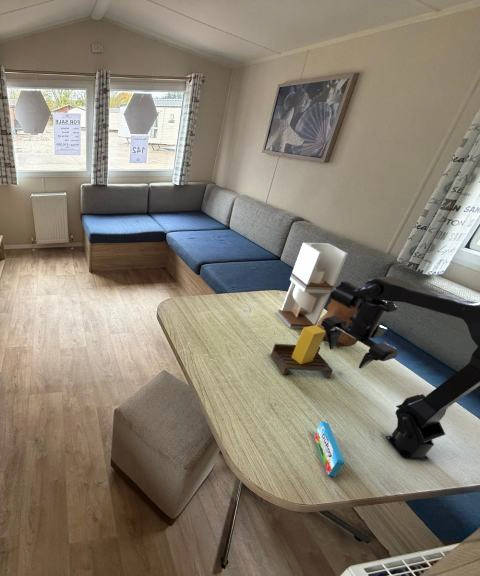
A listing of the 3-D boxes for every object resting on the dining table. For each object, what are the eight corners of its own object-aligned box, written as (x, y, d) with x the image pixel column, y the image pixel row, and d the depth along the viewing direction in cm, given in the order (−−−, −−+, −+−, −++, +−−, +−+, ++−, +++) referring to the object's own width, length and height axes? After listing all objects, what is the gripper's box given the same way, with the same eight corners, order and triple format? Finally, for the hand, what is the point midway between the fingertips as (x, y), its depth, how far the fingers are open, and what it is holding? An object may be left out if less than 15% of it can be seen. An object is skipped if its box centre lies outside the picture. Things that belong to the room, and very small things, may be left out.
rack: (329, 378, 107) (336, 365, 104) (282, 374, 108) (287, 361, 105) (313, 358, 116) (319, 346, 113) (270, 356, 117) (274, 343, 114)
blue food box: (334, 477, 76) (344, 462, 74) (328, 475, 77) (337, 460, 74) (319, 436, 87) (327, 421, 84) (313, 435, 87) (321, 420, 84)
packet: (312, 361, 109) (326, 331, 103) (300, 364, 108) (314, 334, 102) (302, 354, 113) (315, 325, 107) (291, 357, 111) (303, 327, 105)
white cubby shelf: (277, 313, 144) (303, 242, 127) (300, 314, 144) (329, 243, 127) (289, 327, 134) (319, 252, 117) (314, 328, 133) (347, 253, 117)
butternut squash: (347, 338, 128) (375, 285, 116) (356, 357, 117) (387, 301, 105) (309, 329, 133) (331, 277, 121) (314, 347, 122) (339, 292, 110)
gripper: (423, 330, 84) (395, 373, 91) (353, 297, 100) (334, 336, 107) (396, 337, 81) (369, 381, 88) (329, 302, 96) (311, 342, 104)
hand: (345, 358), depth 97 cm, fingers open, 9 cm apart
